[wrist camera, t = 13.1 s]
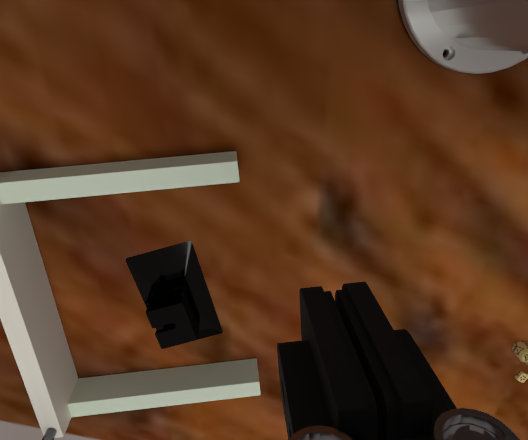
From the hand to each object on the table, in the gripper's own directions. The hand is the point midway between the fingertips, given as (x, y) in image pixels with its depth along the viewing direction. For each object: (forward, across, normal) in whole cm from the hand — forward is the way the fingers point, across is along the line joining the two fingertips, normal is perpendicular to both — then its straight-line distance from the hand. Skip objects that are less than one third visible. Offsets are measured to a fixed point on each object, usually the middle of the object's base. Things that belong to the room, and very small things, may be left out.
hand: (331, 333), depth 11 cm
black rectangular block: (+24, +8, +13) cm, 28 cm away
